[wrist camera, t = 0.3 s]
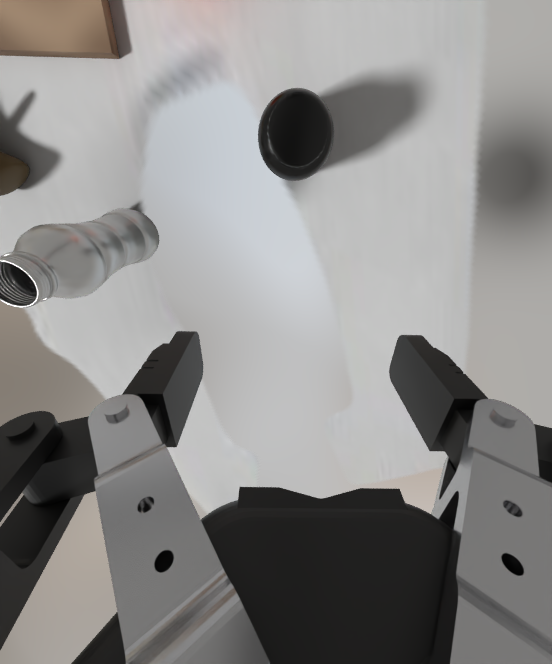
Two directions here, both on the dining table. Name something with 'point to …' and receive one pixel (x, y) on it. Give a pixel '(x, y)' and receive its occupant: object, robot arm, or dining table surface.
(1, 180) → the kendama
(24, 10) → the walnut base plate
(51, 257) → the plastic bottle
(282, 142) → the supplement bottle
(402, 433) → the dining table surface
